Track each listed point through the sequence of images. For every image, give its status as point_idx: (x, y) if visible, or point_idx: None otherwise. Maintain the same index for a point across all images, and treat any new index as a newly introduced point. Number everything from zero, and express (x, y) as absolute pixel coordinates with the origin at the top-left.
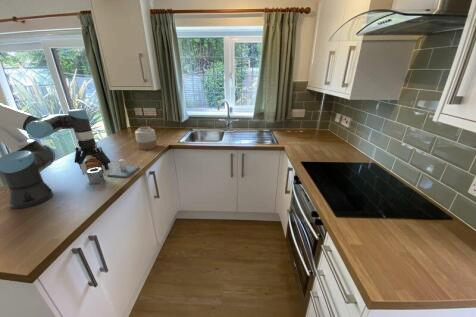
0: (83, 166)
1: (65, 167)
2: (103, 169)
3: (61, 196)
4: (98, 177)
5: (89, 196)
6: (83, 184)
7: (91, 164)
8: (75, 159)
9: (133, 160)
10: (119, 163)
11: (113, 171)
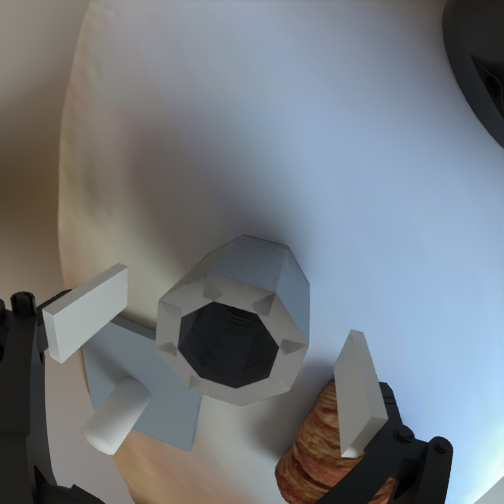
0: (353, 406)
1: (490, 447)
2: (83, 292)
3: (392, 54)
4: (193, 269)
5: (180, 42)
6: (337, 238)
7: (347, 468)
8: (439, 478)
9: (185, 483)
10: (113, 423)
11: (191, 397)
